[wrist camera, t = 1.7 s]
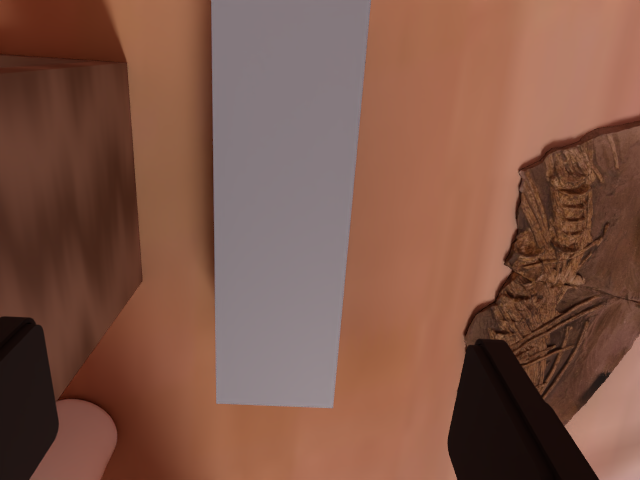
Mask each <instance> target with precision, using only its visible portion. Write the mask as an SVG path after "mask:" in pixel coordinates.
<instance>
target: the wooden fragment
mask: <svg viewBox="0 0 640 480" xmlns="http://www.w3.org/2000/svg"><path fill="white" fill-rule="evenodd" d="M519 175H520V176H521V178H522V179H521V185H520V188H519V191H520V193H521V194H520V198H521V204H520V205H519V208H518V211H517V217H516V219H518V220H517V225H518V234H517V236H516V241H515V242H514V243H513V244H512V248H511V252H510V254H509V255H508V257H507V259H506V261H505V263H504V265H506V266H508V267H509V268H511V269H512V270H513V271H512V274H511V275H510V276H509V277H508V280H507V282H506V283H505V284H504V285H503V287H502V289H501V291H500V293H499V296H498V298H496V303H493V304H490V305H489V306H487V307H486V308H484V309H483V310H482V311H481V312H479V313H478V314H477V315H476V316H475V318H474V320H473V321H472V323H471V325H470V327H469V329H468V332H467V335H466V337H465V342H466V345H467V347H468V345H475V342H476V340H477V339H498V340H505V341H506V342H507V344H508V345H509V347H510V348H511V350H512V352H513V353H514V355H515V356H516V358H517V359H518V361H519V362H520V364H521V365H522V367H523V369H524V370H525V372H526V373H527V375H528V376H529V378H530V379H531V381H532V382H533V384H534V386H535V387H536V389H537V390H538V392H539V393H540V395H541V396H542V398H543V399H544V401H545V402H546V403H548V404H549V405H550V406H551V407H552V408H553V410H554V411H555V413H556V415H557V416H558V418H559V419H560V421H561V422H562V424H563V425H564V426H565V425H566V424H567V423H568V422H569V420H570V419H571V418H572V417H573V415H575V414H576V412H577V411H579V410H580V409H581V408H582V406H584V405H585V404H586V403H587V401H588V400H589V399H590V398H591V397H592V395H593V394H594V393H595V391H596V390H597V389H598V388H599V387H600V386H601V384H602V383H604V382H605V380H606V379H607V378H608V377H609V375H610V374H611V373H612V371H613V370H614V368H615V367H616V366H617V365H618V364H619V362H620V361H621V359H622V358H623V357H624V355H625V354H626V353H627V352H628V351H629V350H630V349H631V347H632V345H633V343H634V341H635V340H636V338H637V337H639V334H640V121H637V122H633V123H628V124H623V125H619V126H613V127H603V128H598V129H595V130H593V131H591V132H589V133H588V134H586V135H585V136H583V137H582V138H581V139H580V141H579V142H577V143H574V144H571V145H568V146H565V147H562V148H554V149H551V150H550V151H549V152H547V153H546V154H545V156H544V158H542V159H541V160H540V161H539V162H536V163H534V164H532V165H531V166H527V167H526V168H523V169H522V170H521V171H520V172H519Z"/></svg>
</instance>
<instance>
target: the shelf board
mask: <svg viewBox="0 0 640 480" xmlns="http://www.w3.org/2000/svg"><path fill="white" fill-rule="evenodd" d="M370 5H371V0H211V21H212V99H213V177H214V255H215V334H216V403H217V404H243V405H268V406H293V407H318V408H333V402H334V391H335V381H336V370H337V359H338V348H339V338H340V327H341V316H342V305H343V295H344V284H345V273H346V262H347V252H348V241H349V230H350V219H351V209H352V198H353V187H354V176H355V166H356V155H357V144H358V133H359V123H360V112H361V101H362V91H363V80H364V69H365V58H366V48H367V37H368V26H369V15H370Z"/></svg>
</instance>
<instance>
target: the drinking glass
mask: <svg viewBox="0 0 640 480" xmlns="http://www.w3.org/2000/svg"><path fill="white" fill-rule="evenodd" d="M56 408H57V414H58V420H59V429H58V433H57V436H56V438H55V440H54V442H53V444H52V445H51V447H50V448H49V450H48V451H47V453H46V454H45V456H44V458H43V459H42V461H41V462H40V464H39V465H38V467H37V469H36V470H35V472H34V473H33V475H32V476H31V478H30V479H29V480H101V479H102V476H103V474H104V471H105V469H106V466H107V464H108V462H109V460H110V458H111V456H112V454H113V452H114V449H115V447H116V443H117V429H116V426H115V423H114V421H113V420H112V418H111V417H110V416H109V414H108V413H107V412H105V411H104V410H103V409H102V408H100V407H99V406H97V405H95V404H93V403H91V402H88V401H84V400H79V399H64V400H59V401H56Z"/></svg>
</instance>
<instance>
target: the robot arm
mask: <svg viewBox="0 0 640 480" xmlns="http://www.w3.org/2000/svg"><path fill="white" fill-rule="evenodd" d="M58 429H59V420H58V414H57V408H56V402H55V396H54V390H53V384H52V378H51V372H50V366H49V360H48V354H47V348H46V342H45V336H44V331H43V328H42V326H41V325H37V324H36V322H35V321H34V319H32V318H30V317H10V316H3V317H0V480H29V479H30V478H31V476H32V475H33V473H34V472H35V470H36V469H37V467H38V465H39V464H40V462H41V461H42V459H43V458H44V456H45V454H46V453H47V451H48V450H49V448H50V447H51V445H52V444H53V442H54V440H55V438H56V436H57V433H58ZM448 451H449V456H450V459H451V462H452V465H453V468H454V471H455V474H456V477H457V480H599V479H598V477H597V476H596V474H595V472H594V471H593V469H592V468H591V466H590V465H589V463H588V462H587V460H586V459H585V457H584V456H583V454H582V453H581V451H580V450H579V448H578V447H577V445H576V443H575V442H574V440H573V439H572V437H571V436H570V434H569V433H568V431H567V430H566V428H565V427H564V425H563V424H562V422H561V421H560V419H559V418H558V416H557V415H556V413H555V411H554V410H553V408H552V407H551V406H550V405H549V404H548V403H546V402H545V401H544V399H543V398H542V396H541V395H540V393H539V392H538V390H537V389H536V387H535V386H534V384H533V382H532V381H531V379H530V378H529V376H528V375H527V373H526V372H525V370H524V369H523V367H522V365H521V364H520V362H519V361H518V359H517V358H516V356H515V355H514V353H513V352H512V350H511V348H510V347H509V345H508V344H507V342H506V341H505V340H498V339H477V340H476V342H475V345H468V347H467V350H466V354H465V359H464V364H463V368H462V373H461V378H460V383H459V387H458V392H457V397H456V402H455V406H454V411H453V416H452V421H451V425H450V430H449V435H448Z"/></svg>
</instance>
